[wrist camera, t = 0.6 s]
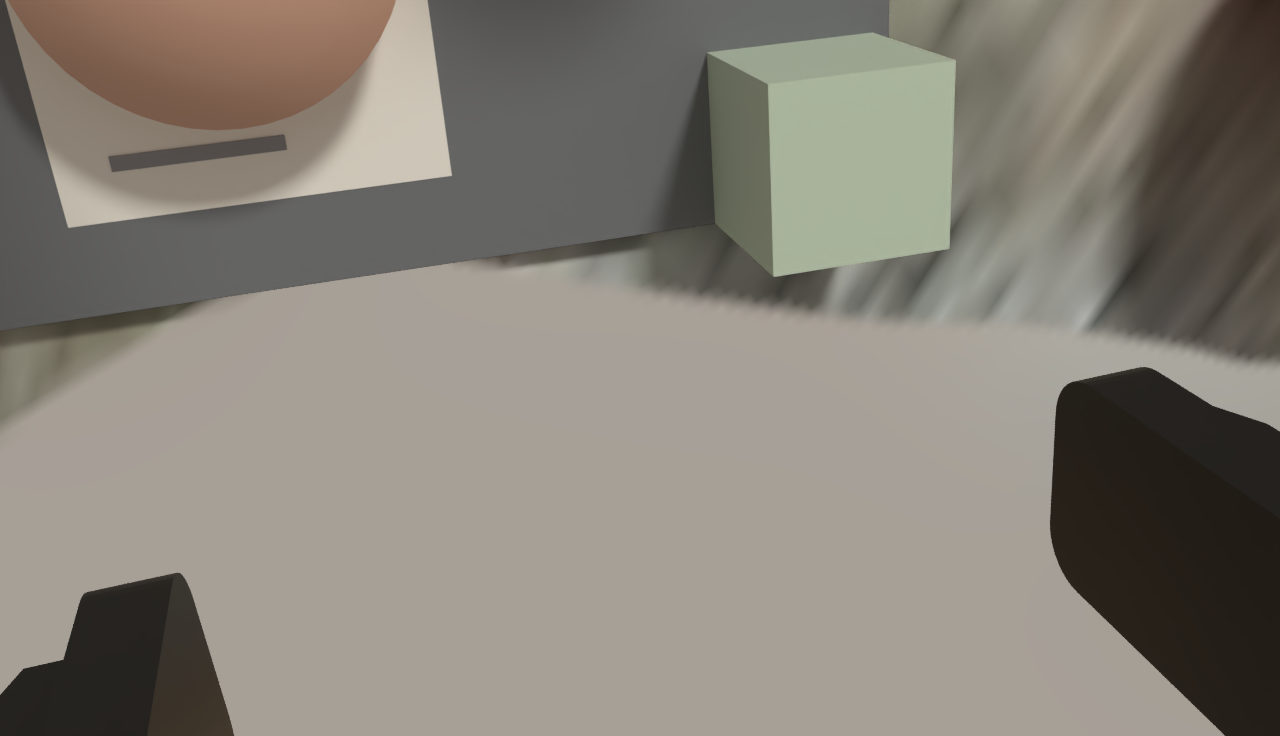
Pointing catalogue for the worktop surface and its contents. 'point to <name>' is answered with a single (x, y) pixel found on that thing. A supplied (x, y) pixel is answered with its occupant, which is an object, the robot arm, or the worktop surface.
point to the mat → (379, 154)
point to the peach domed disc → (208, 53)
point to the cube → (832, 150)
